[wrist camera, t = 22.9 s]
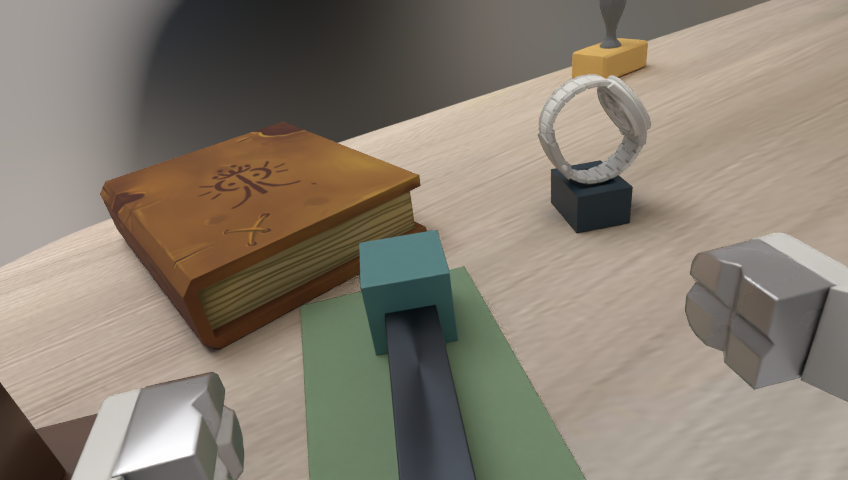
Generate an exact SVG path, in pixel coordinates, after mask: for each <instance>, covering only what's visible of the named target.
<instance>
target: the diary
mask: <svg viewBox="0 0 848 480" xmlns="http://www.w3.org/2000/svg"><path fill="white" fill-rule="evenodd" d="M419 186H420V179H419V175H417V174H415V173H412V172H410V171H407V170H405V169H402V168H399V167H397V166H394V165H392V164H389V163H387V162H384V161H382V160H379V159H376V158H374V157H371V156H369V155H366V154H364V153H361V152H359V151H356V150H354V149H351V148H348V147H346V146H343V145H341V144H338V143H336V142H333V141H330V140H328V139H325V138H323V137H320V136H318V135H315V134H313V133H310V132H307V131H305V130H303V129H300V128H297V127H295V126H292V125H290V124H287V123H285V122H281V123H278V124H275V125H272V126H269V127H266V128H264V129H260V130H257V131H254V132H251V133H248V134H245V135H242V136H239V137H236V138H233V139H230V140H228V141H225V142H222V143H219V144H216V145H213V146H210V147H207V148H204V149H201V150H198V151H195V152H192V153H189V154H186V155H183V156H180V157H177V158H174V159H172V160H168V161H165V162H162V163H159V164H156V165H153V166H151V167H147V168H144V169H142V170H139V171H136V172H132V173H130V174H126V175H124V176H121V177H118V178H115V179H112V180H109V181H106V182H105V184H104V186H103V188H102V191H101V193H100V195H101V197H102V199H103V200H104V203H105V205H106V207H107V209H108V211H109V213H110V215H111V217H112V219H113V221H114V223H115V225H116V228H117V230H118V231H119V232H120V234H121V235H122V236H123V238H124V239H125V240H126V242H127V243H128V244H129V246H130V247H131V248H132V250H133V251H134V252H135V254H136V255H137V256H138V258H139V259H140V260H141V262H142V263H143V264H144V266H145V267H146V268H147V270H148V271H149V272H150V274H151V275H152V276H153V278H154V279H155V280H156V282H157V283H158V284H159V286H160V287H161V288H162V290H163V291H164V292H165V294H166V295H167V296H168V298H169V299H170V300H171V302H172V303H173V304H174V306H175V307H176V308H177V310H178V311H179V312H180V314H181V315H182V316H183V318H184V319H185V320H186V322H187V323H188V324H189V326H190V327H191V328H192V330H193V331H194V332H195V334H196V335H197V336H198V338H199V339H200V340H201V342H202V343H203V344H204V345H207V346H211V347H215V348H219V349H221V348H223V347H225V346H227V345H228V344H230V343H232V342H234V341H236V340H238V339H240V338H241V337H243V336H245V335H247V334H249V333H251V332H252V331H254V330H256V329H258V328H260V327H262V326H264V325H265V324H267V323H269V322H271V321H273V320H275V319H276V318H278V317H280V316H282V315H284V314H286V313H287V312H289V311H291V310H293V309H295V308H297V307H299V306H300V305H302V304H304V303H306V302H308V301H310V300H311V299H313V298H315V297H317V296H319V295H321V294H323V293H324V292H326V291H328V290H330V289H332V288H334V287H335V286H337V285H339V284H341V283H343V282H345V281H346V280H348V279H350V278H352V277H354V276H356V275H358V274H359V273H360V252H359V243H362V242H368V241H374V240H380V239H385V238H391V237H397V236H403V235H409V234H415V233H421V232H427V230H426V227H425V226H423V225H421V224H419V223H416V222H414V216H413V209H412V203H411V196H410V191H411V190H413V189H415V188H417V187H419Z"/></svg>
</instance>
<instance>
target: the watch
mask: <svg viewBox="0 0 848 480" xmlns="http://www.w3.org/2000/svg"><path fill="white" fill-rule="evenodd" d="M594 87H598V88H597V94H598V98H599V101H600V103H601V105H602V107H603V108H604V110H605V112H606V113H607V115H608V116H609V117H610V119H611V120H612V121H613V122H614V124H615V125H616V126H617V127H618V128H619V130H620V132H621V134H622V135H625V136H624V138H623V140H622V142H623V143H621V144H620V146H619V147H618V149H617V150H616V153H617V154H616V153H614V154H613V155H612V156H611V157H610V158H609V159H608V161H605V162H602V161H595V162H589V163H584V164H578V165H573V166H571V165H570V164H569V163H568V162H566V161H565V159H564V158H563V156H562V154H561V151H560V149H559V146H558V143H557V142H556V139H555V132H554V130H553V125H552V124H553V123H554V122H555V119H556V117H557V115H558V114H557V113H558V112H560V110H561V109H562V108H563V107H564V105H565V102H566V103H567V102H568V101H570V100H571V99H572V98H573V97H574V96H575V94H579V93H581V92H583V91H585V90H586V88H587V89H590V88H594ZM556 101H557V102H558V103H557V102H556ZM556 112H557V113H556ZM541 116H542V117H540V119H539V132H540V133H539V134H538V137H539V140H540V143H541V145H542V147H543V150H544V152H545V153H546V155H547V157H548V158H549V159H550V161H551V162H552V163H553V165H554V166H555V167H556V169H551V203H552V204H553V205H554V206H555V208H556V209H557V210H558V211H559V212H560V214H561V215H562V216H563V217H564V218H565V220H566V221H567V222H568V223H569V224H570V226H571V227H572V228H573V229H574V230H575V232H576V233H579V232H584V231H589V230H595V229H600V228H605V227H610V226H616V225H621V224H626V223H630V211H631V200H632V188H633V187H632V186H631V185H630V184H628V183H627V182H626V181H625V180H624V179H622V178H621V177H620V176H619V174H620V173H621V172H623V171H624V170H626V169H627V168H628V167H629V166H630V165H631V164H630V163H633V161H634V160H635V159H636V157H637V156H638V153H639V152H640V151H641V149H642V147H643V145H645V143H646V138H647V130H648V129H650V128H651V121H650V118H649V115H648V113H647V111H646V109H645V107H644V106H643V104H642V102H641V101H640V100H639V98H638V97H637V96H636V94H635V93H634V92H633V91H632V89H631V88H630V87H629V86H628V85H627V84H626V83H625V82H623V81H622V80H621V79H619V78H618V77H616V76H614V75H611V76H609V77H608V78H607V79H605V78H603V77H601V76H599V75H597V74H588V75H582V76H578V77H575V78H574V79H573V78H572V79H570V80H568V81H567V82H565V83H564V84H563V85H561V86H560V87H558V88H557V89H556V90H555V91H554V92H553V94H552V95H551V96H550V97H549V99H548V100H547V102H546V105H544V107H543V109H542V112H541ZM625 149H626V150H627V151H626V150H625ZM628 151H629V152H630V153H629V152H628ZM617 159H618V160H617ZM620 161H621V162H622V163H621V162H620ZM628 162H629V163H628Z"/></svg>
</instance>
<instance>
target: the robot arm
mask: <svg viewBox="0 0 848 480" xmlns="http://www.w3.org/2000/svg"><path fill="white" fill-rule="evenodd" d="M690 275H691V276H692V277H693V279H694V280H695V281H696V283H695V284H694V286H693V287H692V288H691V290H690V291H689V292H688V294H687V296H686V305H685V312H686V316H687V319H688V322H689V325H690V327H691V328H692V330H693V332H694V333H695V335H696V336H697V337H698V338H699V339H700V340H701V341H702V342H703V343H704V344H705V345H707V346H710V347H712V348H715V349H718V350H721V351H723V354H724V362H725V363H726V364H727V365H728V366H729V367H730V368H731V369H732V370H733V371H734V372H736V373H737V374H738V375H739V376H740V377H741V378H742V379H743V380H744V381H745V382H746V383H747V384H749V385H750V386H751V387H752V388H753V389H758V388H762V387H766V386H770V385H774V384H777V383H781V382H785V381H789V380H793V379H797V378H801V380H802V381H804V382H806V383H808V384H810V385H812V386H815V387H817V388H819V389H821V390H823V391H825V392H828V393H830V394H832V395H834V396H836V397H838V398H841V399H843V400H845V401H847V402H848V267H846V266H845V265H843V264H841V263H839V262H837V261H835V260H834V259H832V258H830V257H828V256H826V255H825V254H823V253H821V252H819V251H817V250H816V249H814V248H812V247H810V246H808V245H807V244H805V243H803V242H801V241H799V240H797V239H796V238H794V237H792V236H790V235H788V234H784V233H778V232H775V233H772V234H768V235H764V236H760V237H757V238H753V239H750V240H749V241H745V242H741V243H737V244H733V245H729V246H725V247H721V248H717V249H713V250H709V251H705V252H701V253H697V255H696V256H695V258H694V259H693V261H692V265H691V270H690ZM224 397H225V388H224V386H223V384H222V382H221V380H220V378H219V376H218V374H216V373H214V372H209V373H205V374H200V375H196V376H191V377H187V378H182V379H178V380H173V381H169V382H164V383H160V384H155V385H151V386H146V387H145V388H139V389H135V390H131V391H126V392H122V393H118V394H113V395H110V396H109V397H108V398H107V399H105V400H104V401H103V403H102V405H101V407H100V410H99V412H98V415H97V417H96V419H95V422H94V424H93V427H92V429H91V432H90V434H89V437H88V439H87V441H86V444H85V446H84V449H83V451H82V454H81V456H80V458H79V461H78V463H77V466H76V468H75V471H74V473H73V476H72V478H71V480H237V479H238V478H239V476H240V475H241V473H242V472H243V467H244V447H243V437H242V432H241V429H240V425H239V421H238V419H237V416H236V414H235V412H234V410H232V409H230V408H228V407H226V406H224Z"/></svg>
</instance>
